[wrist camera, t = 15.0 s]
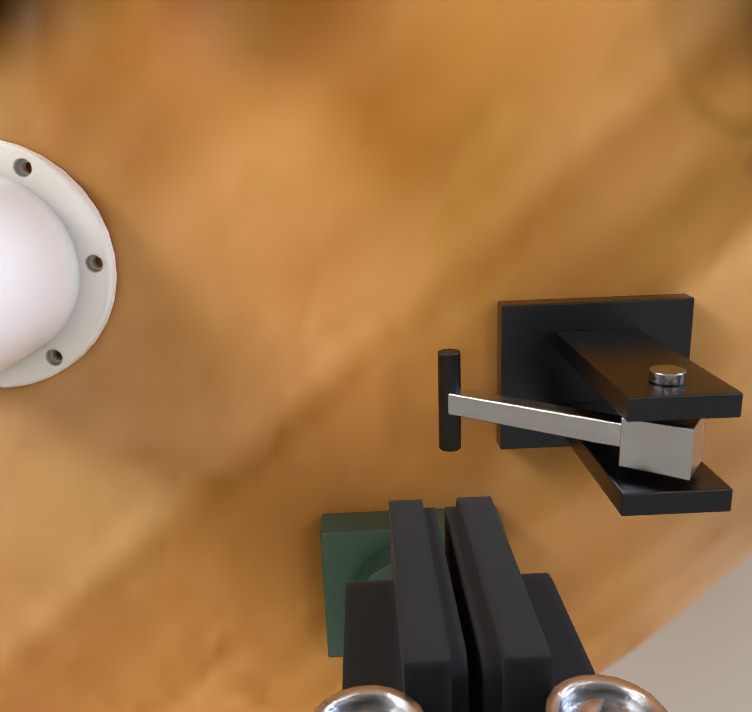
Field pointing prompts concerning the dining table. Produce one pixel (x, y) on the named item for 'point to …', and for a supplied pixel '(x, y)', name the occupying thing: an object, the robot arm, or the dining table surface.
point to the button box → (354, 561)
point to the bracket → (614, 386)
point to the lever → (570, 425)
